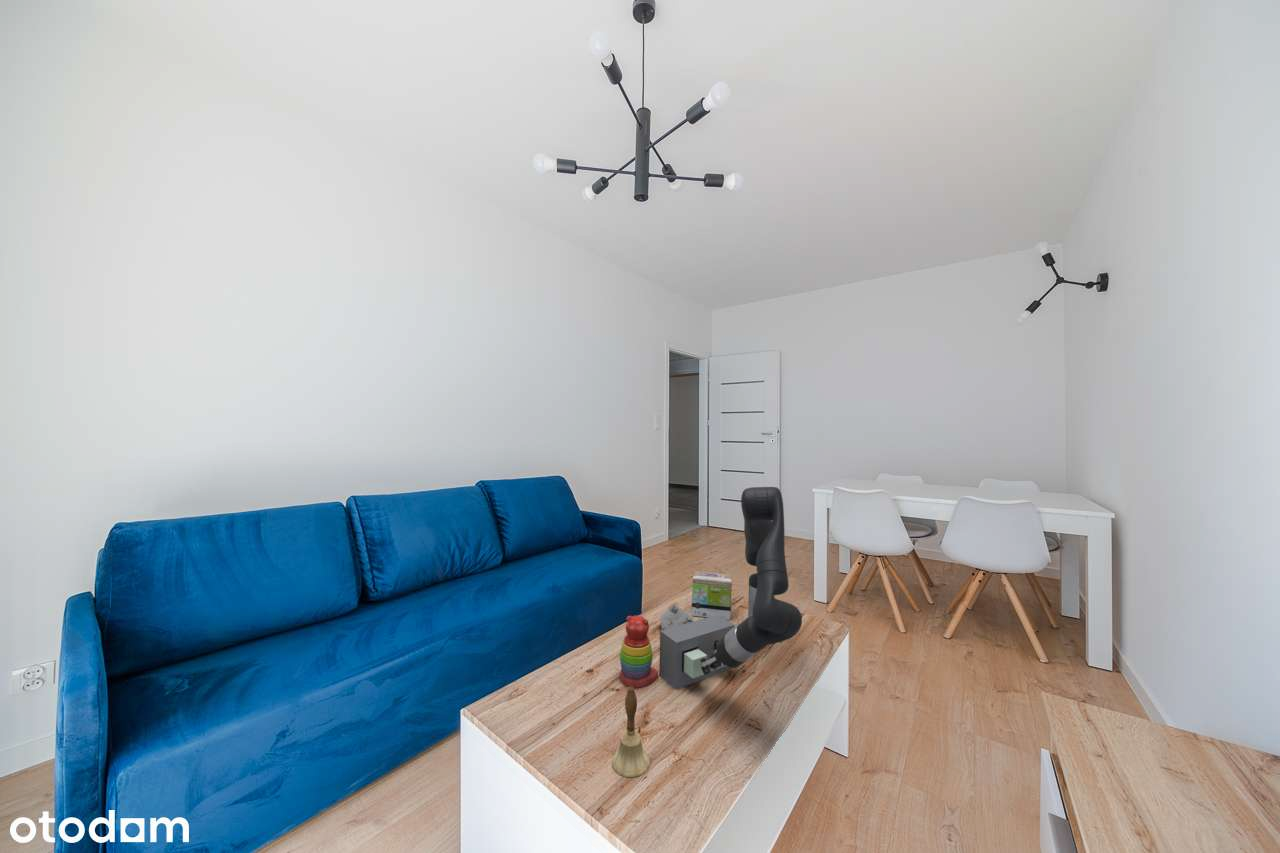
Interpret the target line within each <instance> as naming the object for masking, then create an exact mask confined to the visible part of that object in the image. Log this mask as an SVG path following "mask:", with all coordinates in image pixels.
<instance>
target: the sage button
mask: <svg viewBox="0 0 1280 853" xmlns="http://www.w3.org/2000/svg"><path fill="white" fill-rule="evenodd" d="M702 658H707V655H706V654H705V653H703V652H702V651H700V650H699V649H696V650H693V651H690V652H687V653H684V672H685V673H686V674H688V675H689V676H690V677H691V678H696V677H698V676H701V675H704V673H703V671H702V669H701V668H702V666H703V665H702V663H701V661H700V660H701V659H702Z"/></svg>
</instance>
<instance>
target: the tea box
mask: <svg viewBox="0 0 1280 853" xmlns="http://www.w3.org/2000/svg"><path fill="white" fill-rule="evenodd" d="M732 582H733V581H732V575H731V574H729V573H720V572H719V573H718V572H708V571H707V572H706V571H697V570H696V571H695V570H694V571H693V576H692V589H691V590H692V591H691V592H692V593H691V594H692V595H691V617H702V618H708V617H711V616H715V615H718V616H720V617H721V618H723V619H725V620H727V621H731V616H732V591H733V588H732V587H733V583H732Z"/></svg>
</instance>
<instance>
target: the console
mask: <svg viewBox="0 0 1280 853" xmlns="http://www.w3.org/2000/svg"><path fill="white" fill-rule="evenodd" d="M735 626H736V625H735V624H734V623H733V622H730V621H729V620H725V619H723V618H721V617H720V616H718V615H715V616H711V617H703V618H702V619H697V620H694V621H693V622H689V623H686V624H683V625H679V626H676V627H672V628H668V629H665V630H662V629H661V630H660V631H659V667H658V668H659V669H658V670H659V672H658V677H661V679H663V680H664V681H665V682H666V683H667V684H669V685H670V686H671V687H672V688H673V689H675V690H678V689H681V688H683V687H686V686H689V685H691V684H694V683H697V682H699V681H702V680H704V679H708V678H710V677H713V676H715V675H718V674H720V673H724V672H726V671H729V670H732V669H733V668H731V667H728V666H725V667H722V668H719V669H717V670H714V671H712V672H711V673H709V674H707V675H701V676H698V677H696V678H691V677H690V676H689V675H688V674H686V673H685V672H684V653H687V652H690V651H693V650H696V649H699V650H700V651H702V652H703V653H705V654H706V655H707V660H709V656H710V655H712V654H713V651H715V650H716V643H717V642H718V640H719V639H720V638H721V637H722V636H724V635H725V634H726V633H727V632H729V631H730V630H731V629H732V628H734V627H735Z"/></svg>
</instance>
